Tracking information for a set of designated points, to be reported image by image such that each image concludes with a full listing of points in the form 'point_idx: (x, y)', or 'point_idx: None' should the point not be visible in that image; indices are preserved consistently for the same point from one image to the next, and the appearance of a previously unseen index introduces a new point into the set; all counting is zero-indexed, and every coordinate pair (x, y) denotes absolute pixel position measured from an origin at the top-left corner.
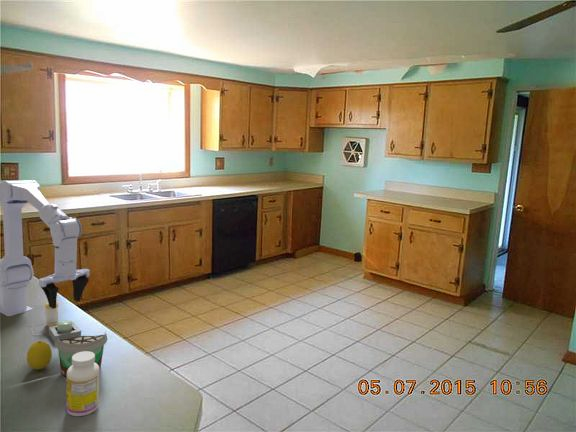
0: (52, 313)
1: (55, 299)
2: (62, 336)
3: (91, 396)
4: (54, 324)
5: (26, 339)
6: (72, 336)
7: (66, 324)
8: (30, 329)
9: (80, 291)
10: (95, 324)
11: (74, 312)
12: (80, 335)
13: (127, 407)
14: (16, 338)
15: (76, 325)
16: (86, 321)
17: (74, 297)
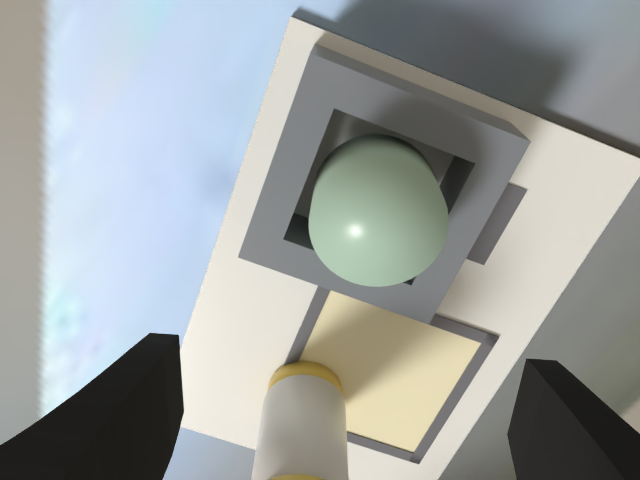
0: (322, 443)
1: (617, 449)
2: (467, 113)
3: None
4: (311, 370)
5: (544, 338)
6: (384, 76)
7: (388, 192)
8: (442, 423)
9: (89, 430)
10: (67, 189)
11: None
12: (317, 48)
13: None
14: None
15: (265, 185)
16: (93, 280)
17: (173, 429)
